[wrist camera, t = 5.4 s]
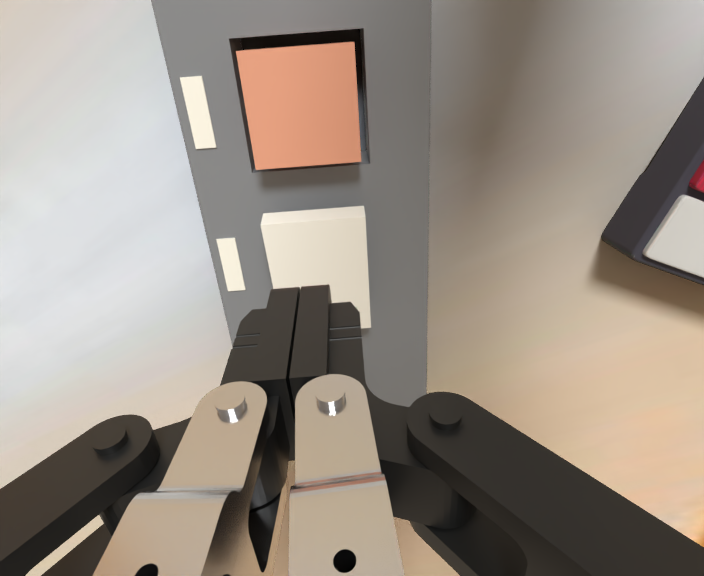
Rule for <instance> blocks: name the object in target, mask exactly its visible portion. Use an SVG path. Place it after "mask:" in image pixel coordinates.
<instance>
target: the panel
mask: <svg viewBox="0 0 704 576" xmlns="http://www.w3.org/2000/svg"><path fill="white" fill-rule="evenodd" d="M151 2H152V6H153V10H154V15H155V19H156V23H157V27H158V32H159V36H160V40H161V44H162V48H163V53H164V57H165V61H166V65H167V70H168V74H169V78H170V82H171V87H172V91H173V95H174V99H175V104H176V108H177V112H178V116H179V121H180V125H181V129H182V133H183V138H184V142H185V146H186V150H187V155H188V159H189V163H190V167H191V172H192V176H193V180H194V184H195V189H196V193H197V197H198V201H199V206H200V210H201V214H202V218H203V222H204V227H205V231H206V235H207V239H208V244H209V248H210V252H211V256H212V261H213V265H214V269H215V273H216V278H217V282H218V286H219V290H220V295H221V299H222V303H223V307H224V312H225V316H226V320H227V324H228V329H229V333H230V337H231V341H232V346H233V343H234V340H235V338H236V334H237V330H238V327H239V324H240V321H241V320H242V319H243V318H244V317H245V316H246V315H247V314H248V313H249V312H250V311H251V310H253V309H265V308H266V307H267V303H268V299H269V294H270V291H271V289H273V284H272V279H271V274H270V269H269V264H268V260H267V255H266V250H265V245H264V240H263V235H262V230H261V221H262V217H263V213H275V212H288V211H301V210H314V209H327V208H340V207H353V206H364V210H365V217H366V237H367V257H368V277H369V297H370V316H371V328H361V335H362V347H363V359H364V372H365V381H366V384H367V387H368V388H369V390H370V391H371V392H372V393H373V394H374V395H375V396H377V397H378V398H379V399H381V400H383V401H385V402H388V403H391V404H395V405H400V406H406V407H410V406H411V404H412V403H413V402H414V401H415V400H416V399H418V398H420V397H421V396H424V395H426V386H427V306H428V227H429V148H430V69H431V0H151ZM353 29H360V35H361V55H362V74H363V93H364V113H365V132H366V151H361V162H352V163H339V164H326V165H313V166H300V167H287V168H274V169H261V170H256V168H255V162H254V156H253V150H252V144H251V138H250V132H249V126H248V120H247V115H246V109H245V103H244V97H243V91H242V85H241V79H240V73H239V67H238V61H237V55H236V51H241V50H242V43H241V38H250V37H263V36H276V35H289V34H302V33H315V32H328V31H340V30H353Z"/></svg>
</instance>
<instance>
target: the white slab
mask: <svg viewBox="0 0 704 576" xmlns="http://www.w3.org/2000/svg"><path fill="white" fill-rule="evenodd" d="M261 230H262V235H263V240H264V245H265V250H266V255H267V260H268V264H269V269H270V274H271V279H272V284H273V289H278V288H291V287H300V289H301V287H302V286H315V285H327V284H329V285H330V291H331V300H332V303H340V302H351V303H352V304H353V305H354V306H355V307H356V309H357V310H358V311H359V312H360V322H361V328H371V316H370V297H369V277H368V257H367V237H366V217H365V210H364V206H353V207H340V208H327V209H314V210H301V211H288V212H275V213H263V217H262V221H261Z"/></svg>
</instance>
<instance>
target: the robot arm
mask: <svg viewBox="0 0 704 576" xmlns="http://www.w3.org/2000/svg"><path fill="white" fill-rule="evenodd" d="M291 460H295V486H291V489H290V500H289V571H288V576H405V574H404V569H403V564H402V559H401V554H400V549H399V544H398V539H397V533H396V528H395V523H394V518H393V517H397V518H401V519H405V520H409V521H410V523H411V525H412V527H413V529H414V530H415V532H416V533H417V534H418V535H419V536H420V537H421V538H422V539H423V540H424V541H425V542H426V543H427V544H428V545H429V546H430V547H431V548H432V549H433V550H434V551H435V552H437V553H438V554H439V555H440V556H441V557H442V558H443V559H444V560H445V561H446V562H447V563H448V564H449V565H450V566H451V567H452V568H453V569H454V570H455V571H456V572H457V573H458V574H459V575H460V576H704V547H702V546H700V545H699V544H697V543H696V542H694V541H693V540H691V539H689V538H688V537H686V536H685V535H683V534H681V533H680V532H678V531H677V530H675V529H674V528H672V527H670V526H669V525H667V524H666V523H664V522H662V521H661V520H659V519H658V518H656V517H655V516H653V515H651V514H650V513H648V512H647V511H645V510H643V509H642V508H640V507H639V506H637V505H636V504H634V503H632V502H631V501H629V500H628V499H626V498H624V497H623V496H621V495H620V494H618V493H617V492H615V491H613V490H612V489H610V488H609V487H607V486H606V485H604V484H602V483H601V482H599V481H598V480H596V479H594V478H593V477H591V476H590V475H588V474H587V473H585V472H583V471H582V470H580V469H579V468H577V467H575V466H574V465H572V464H571V463H569V462H568V461H566V460H564V459H563V458H561V457H560V456H558V455H556V454H555V453H553V452H552V451H550V450H549V449H547V448H545V447H544V446H542V445H541V444H539V443H537V442H536V441H534V440H533V439H531V438H530V437H528V436H526V435H525V434H523V433H522V432H520V431H518V430H517V429H515V428H514V427H512V426H511V425H509V424H507V423H506V422H504V421H503V420H501V419H499V418H498V417H496V416H495V415H493V414H492V413H490V412H488V411H487V410H485V409H484V408H482V407H480V406H479V405H477V404H476V403H474V402H473V401H471V400H469V399H468V398H466V397H464V396H461V395H459V394H455V393H450V392H434V393H429V394H426V395H424V396H421V397H420V398H418V399H416V400H415V401H414V402H413V403H412V404H411V406H410V407H406V406H400V405H395V404H391V403H388V402H385V401H383V400H381V399H379V398H378V397H377V396H375V395H374V394H373V393H372V392H371V391H370V390H369V388H368V387H367V384H366V381H365V372H364V359H363V347H362V335H361V322H360V312H359V311H358V310H357V309H356V307H355V306H354V305H353V304H352V303H351V302H340V303H332V300H331V291H330V285H329V284H327V285H315V286H302V287H301V289H300V287H291V288H278V289H271V291H270V294H269V299H268V303H267V307H266V308H265V309H253V310H251V311H250V312H249V313H248V314H247V315H246V316H245V317H244V318H243V319H242V320H241V321H240V324H239V327H238V330H237V334H236V338H235V340H234V343H233V349H231V353H230V356H229V359H228V362H227V365H226V368H225V372H224V375H223V378H222V381H221V384H220V386H219V387H217V388H215V389H213V390H212V391H210V392H209V393H207V394H206V395H205V396H204V397H203V398H202V399H201V401H200V402H199V403H198V405H197V407H196V409H195V411H194V414H193V416H192V417H190V418H188V419H186V420H183V421H181V422H178V423H174V424H171V425H168V426H165V427H162V428H159V429H156V430H153V429H152V427H151V425H150V423H149V421H147V420H146V419H145V418H143V417H141V416H138V415H122V416H117V417H113V418H110V419H108V420H105V421H103V422H101V423H99V424H97V425H96V426H94V427H92V428H91V429H89V430H88V431H86V432H85V433H83V434H82V435H81V436H79V437H78V438H76V439H75V440H73V441H72V442H70V443H69V444H67V445H66V446H64V447H63V448H61V449H60V450H58V451H57V452H55V453H54V454H52V455H51V456H49V457H48V458H46V459H45V460H43V461H42V462H40V463H39V464H37V465H36V466H34V467H33V468H31V469H30V470H28V471H27V472H25V473H24V474H22V475H21V476H19V477H18V478H16V479H15V480H13V481H12V482H10V483H9V484H7V485H6V486H4V487H3V488H1V489H0V576H25V575H26V574H27V573H28V572H29V571H30V570H31V569H32V568H33V567H34V566H36V565H37V564H38V563H39V562H41V561H42V560H43V559H44V558H45V557H47V556H48V555H49V554H50V553H52V552H53V551H54V550H55V549H57V548H58V547H59V546H60V545H62V544H63V543H64V542H65V541H67V540H68V539H69V538H70V537H71V536H73V535H74V534H75V533H76V532H78V531H79V530H80V529H81V528H83V527H84V526H85V525H86V524H88V523H89V522H90V521H91V520H92V519H94V518H95V517H96V516H97V515H100V517H101V519H102V520H103V522H104V524H103V525H102V526H100V527H99V528H98V529H97V530H96V531H94V532H93V533H92V534H91V535H90V536H88V537H87V538H86V539H85V540H83V541H82V542H81V543H80V544H79V545H77V546H76V547H75V548H74V549H73V550H71V551H70V552H69V553H68V554H67V555H65V556H64V557H63V558H62V559H61V560H59V561H58V562H57V563H56V564H55V565H53V566H52V567H51V568H50V569H48V570H47V571H46V572H45V573H44V574H42V575H41V576H272V575H273V569H274V564H275V558H276V553H277V548H278V542H279V537H280V531H281V526H282V521H283V515H284V510H285V504H286V499H287V484H286V478H287V469H288V461H291Z"/></svg>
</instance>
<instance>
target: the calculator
mask: <svg viewBox="0 0 704 576" xmlns="http://www.w3.org/2000/svg"><path fill="white" fill-rule="evenodd" d="M601 238H602V240H603V241H604V242H606V243H608V244H609V245H611V246H612V247H614V248H615V249H617V250H618V251H620V252H622V253H623V254H625V255H626V256H628V257H629V258H631V259H633V260H635V261H637V262H640V263H643V264H645V265H648V266H651V267H654V268H657V269H660V270H662V271H665V272H668V273H671V274H674V275H676V276H679V277H682V278H685V279H688V280H691V281H693V282H696V283H699V284H702V285H704V78H703V79H702V81H701V83H700V84H699V86H698V87H697V89H696V90H695V92H694V94H693V95H692V97H691V99H690V100H689V102H688V103H687V105H686V107H685V108H684V110H683V112H682V113H681V115H680V116H679V118H678V120H677V121H676V123H675V125H674V126H673V128H672V129H671V131H670V133H669V134H668V136H667V137H666V139H665V141H664V142H663V144H662V146H661V147H660V149H659V150H658V152H657V154H656V155H655V157H654V159H653V160H652V162H651V163H650V165H649V167H648V168H647V170H646V171H645V172H644V173H643V174H641V175H640V176H639V177H638V179H637V180H636V182H635V183H634V185H633V186H632V188H631V189H630V191H629V193H628V194H627V196H626V197H625V199H624V200H623V202H622V203H621V205H620V206H619V208H618V209H617V211H616V213H615V214H614V216H613V217H612V219H611V220H610V222H609V223H608V225H607V226H606V228H605V229H604V231H603V233H602V235H601Z"/></svg>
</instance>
